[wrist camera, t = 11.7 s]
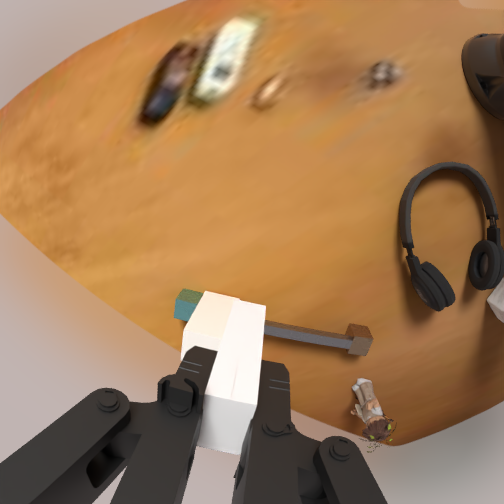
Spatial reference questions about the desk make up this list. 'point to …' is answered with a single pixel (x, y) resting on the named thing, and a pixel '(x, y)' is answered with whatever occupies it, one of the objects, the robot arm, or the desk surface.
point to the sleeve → (207, 322)
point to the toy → (371, 412)
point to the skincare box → (498, 300)
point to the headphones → (483, 254)
